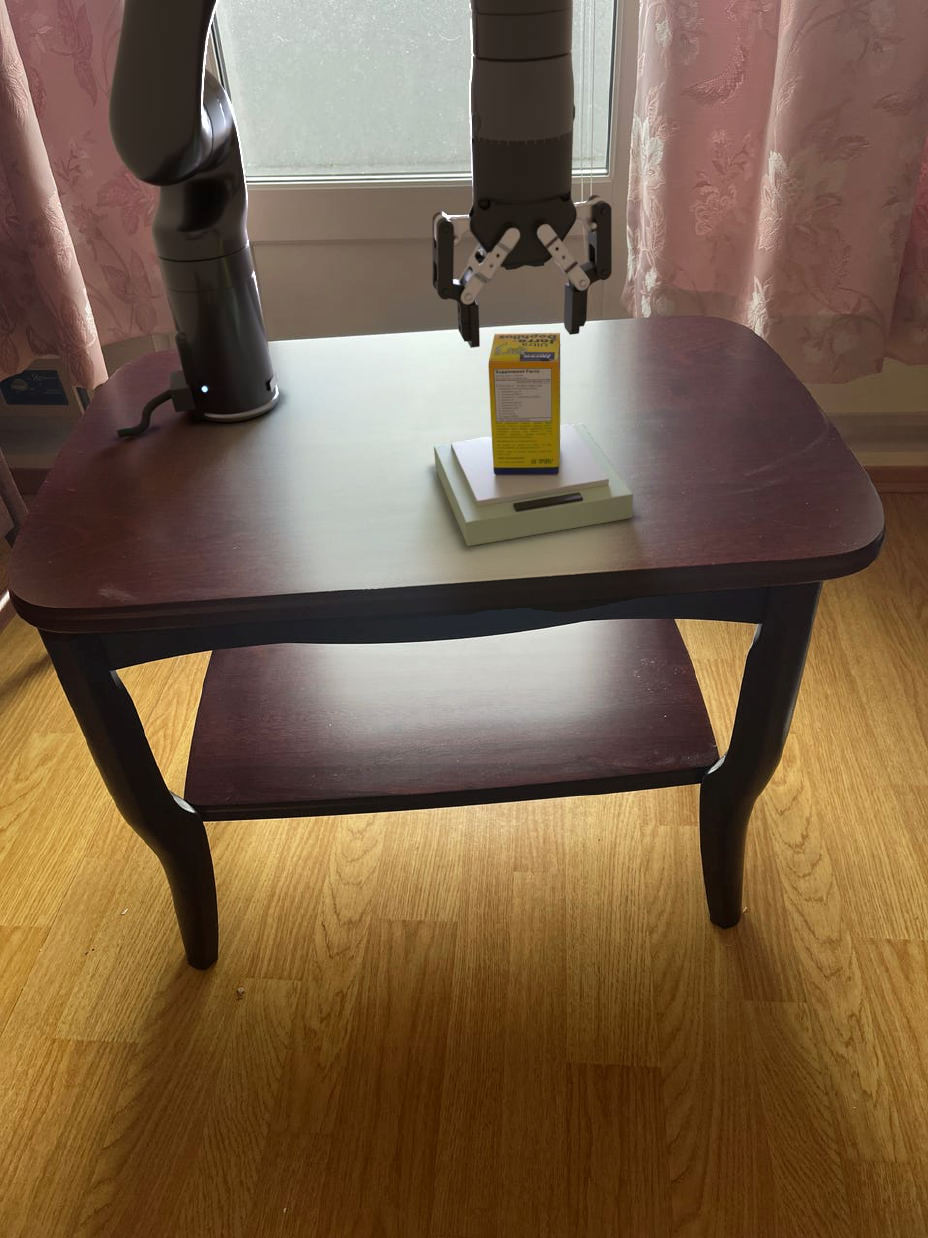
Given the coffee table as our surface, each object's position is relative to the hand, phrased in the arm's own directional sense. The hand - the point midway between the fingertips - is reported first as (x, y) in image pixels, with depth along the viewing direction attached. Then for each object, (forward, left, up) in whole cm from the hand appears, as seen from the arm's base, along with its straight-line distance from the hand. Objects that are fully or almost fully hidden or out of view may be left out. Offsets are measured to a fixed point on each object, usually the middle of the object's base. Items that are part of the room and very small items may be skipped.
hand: (522, 337), depth 80 cm
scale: (0, 0, -15) cm, 15 cm away
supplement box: (0, 0, -12) cm, 12 cm away
